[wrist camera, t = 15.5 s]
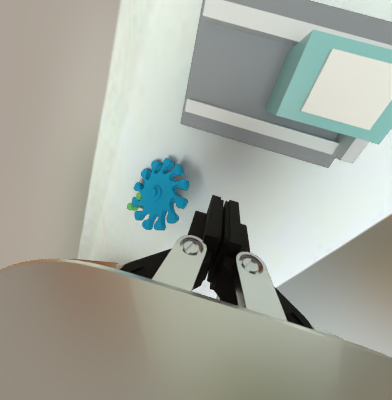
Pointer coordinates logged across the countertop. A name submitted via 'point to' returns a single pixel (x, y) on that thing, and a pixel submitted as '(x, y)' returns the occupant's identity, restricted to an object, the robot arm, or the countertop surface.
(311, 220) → the countertop surface
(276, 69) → the rail base
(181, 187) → the gear
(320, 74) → the block
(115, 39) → the countertop surface
